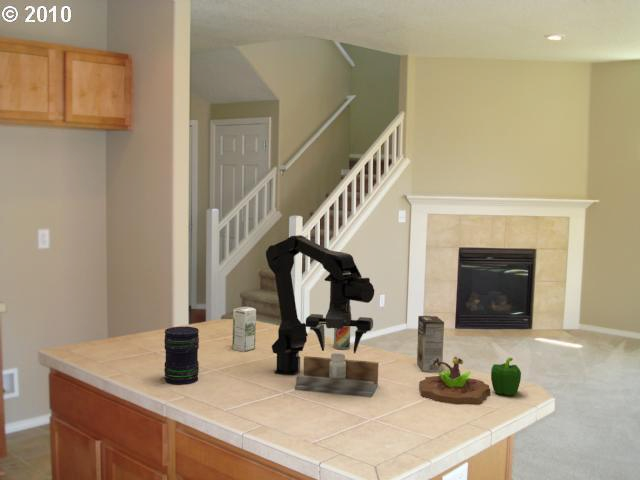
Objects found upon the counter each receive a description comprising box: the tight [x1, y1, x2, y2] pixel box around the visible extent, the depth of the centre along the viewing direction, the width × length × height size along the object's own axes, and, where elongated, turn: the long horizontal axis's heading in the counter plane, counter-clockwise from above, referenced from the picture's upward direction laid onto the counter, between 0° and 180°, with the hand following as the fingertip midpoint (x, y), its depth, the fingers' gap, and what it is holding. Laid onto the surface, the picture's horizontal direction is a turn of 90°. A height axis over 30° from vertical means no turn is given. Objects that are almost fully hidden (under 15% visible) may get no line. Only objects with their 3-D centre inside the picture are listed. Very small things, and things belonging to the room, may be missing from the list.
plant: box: [418, 356, 491, 406], centre depth 194 cm, size 20×20×11 cm
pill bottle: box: [329, 352, 346, 379], centre depth 197 cm, size 5×5×8 cm
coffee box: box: [416, 315, 445, 373], centre depth 219 cm, size 9×6×16 cm
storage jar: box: [163, 326, 200, 386], centre depth 200 cm, size 10×10×15 cm
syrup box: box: [232, 306, 257, 353], centre depth 237 cm, size 6×6×14 cm
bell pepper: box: [490, 357, 522, 397], centre depth 194 cm, size 8×8×10 cm
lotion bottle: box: [333, 305, 352, 350], centre depth 243 cm, size 6×6×20 cm
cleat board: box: [294, 355, 379, 398], centre depth 196 cm, size 22×11×7 cm, turn 77°
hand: (338, 351), depth 196 cm, fingers open, 9 cm apart
